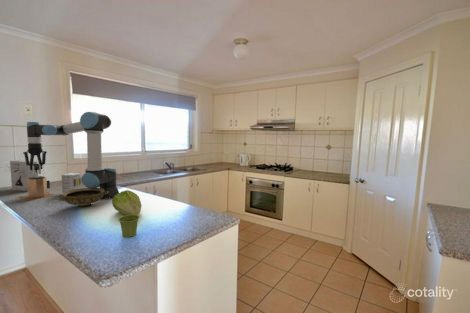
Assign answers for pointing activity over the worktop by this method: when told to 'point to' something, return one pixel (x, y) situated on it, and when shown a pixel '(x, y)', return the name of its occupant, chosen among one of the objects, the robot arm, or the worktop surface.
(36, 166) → the plunger
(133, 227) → the plant pot
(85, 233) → the worktop surface
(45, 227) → the worktop surface
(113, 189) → the robot arm
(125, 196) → the lettuce
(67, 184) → the supplement box
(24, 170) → the cereal box
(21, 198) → the trivet
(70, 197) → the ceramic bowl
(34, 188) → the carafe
